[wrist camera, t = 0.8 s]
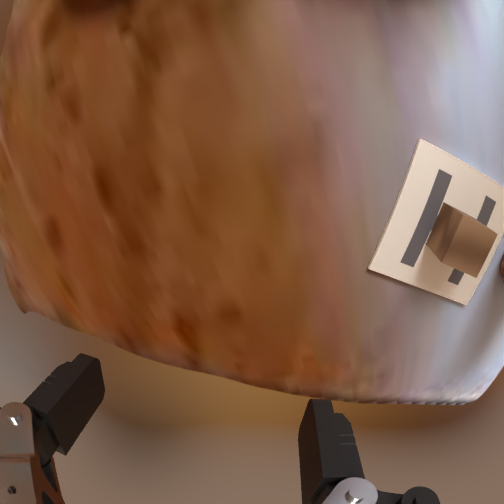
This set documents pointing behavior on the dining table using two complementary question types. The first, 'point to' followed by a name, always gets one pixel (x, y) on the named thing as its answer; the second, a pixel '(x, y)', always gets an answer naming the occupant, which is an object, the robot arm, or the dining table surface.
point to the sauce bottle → (502, 269)
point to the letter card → (425, 214)
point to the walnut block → (460, 240)
